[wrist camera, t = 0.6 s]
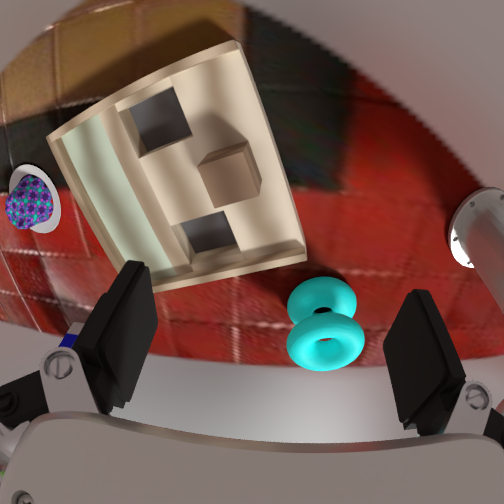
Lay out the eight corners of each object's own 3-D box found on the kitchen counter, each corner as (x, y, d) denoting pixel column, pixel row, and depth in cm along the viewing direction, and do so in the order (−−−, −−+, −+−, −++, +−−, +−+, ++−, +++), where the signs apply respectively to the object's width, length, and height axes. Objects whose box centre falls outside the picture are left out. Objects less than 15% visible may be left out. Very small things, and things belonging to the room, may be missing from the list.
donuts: (307, 316, 33) (381, 336, 34) (304, 263, 42) (367, 284, 43) (274, 365, 39) (340, 380, 40) (277, 312, 47) (334, 329, 48)
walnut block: (248, 140, 30) (242, 151, 27) (262, 179, 33) (259, 196, 29) (207, 153, 31) (196, 166, 28) (222, 190, 34) (214, 208, 30)
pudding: (59, 242, 44) (42, 260, 40) (10, 212, 42) (-8, 227, 38) (68, 180, 38) (47, 196, 34) (15, 152, 36) (-7, 164, 31)
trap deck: (239, 43, 27) (233, 39, 23) (305, 240, 40) (307, 260, 36) (66, 127, 33) (45, 137, 30) (144, 277, 46) (133, 296, 42)
